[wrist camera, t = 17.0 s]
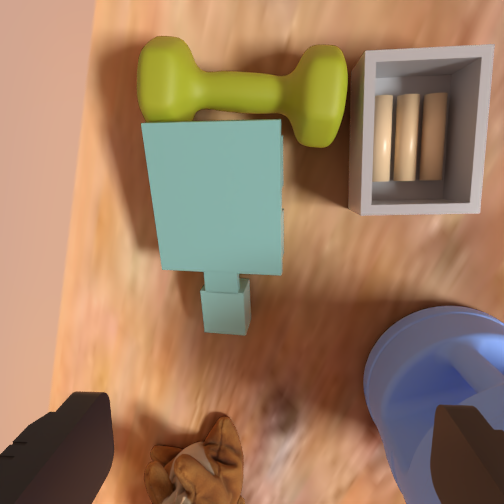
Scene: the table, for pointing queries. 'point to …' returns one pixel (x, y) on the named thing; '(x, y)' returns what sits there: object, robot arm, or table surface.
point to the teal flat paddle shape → (218, 208)
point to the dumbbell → (245, 89)
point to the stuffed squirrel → (198, 470)
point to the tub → (419, 130)
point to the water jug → (432, 385)
